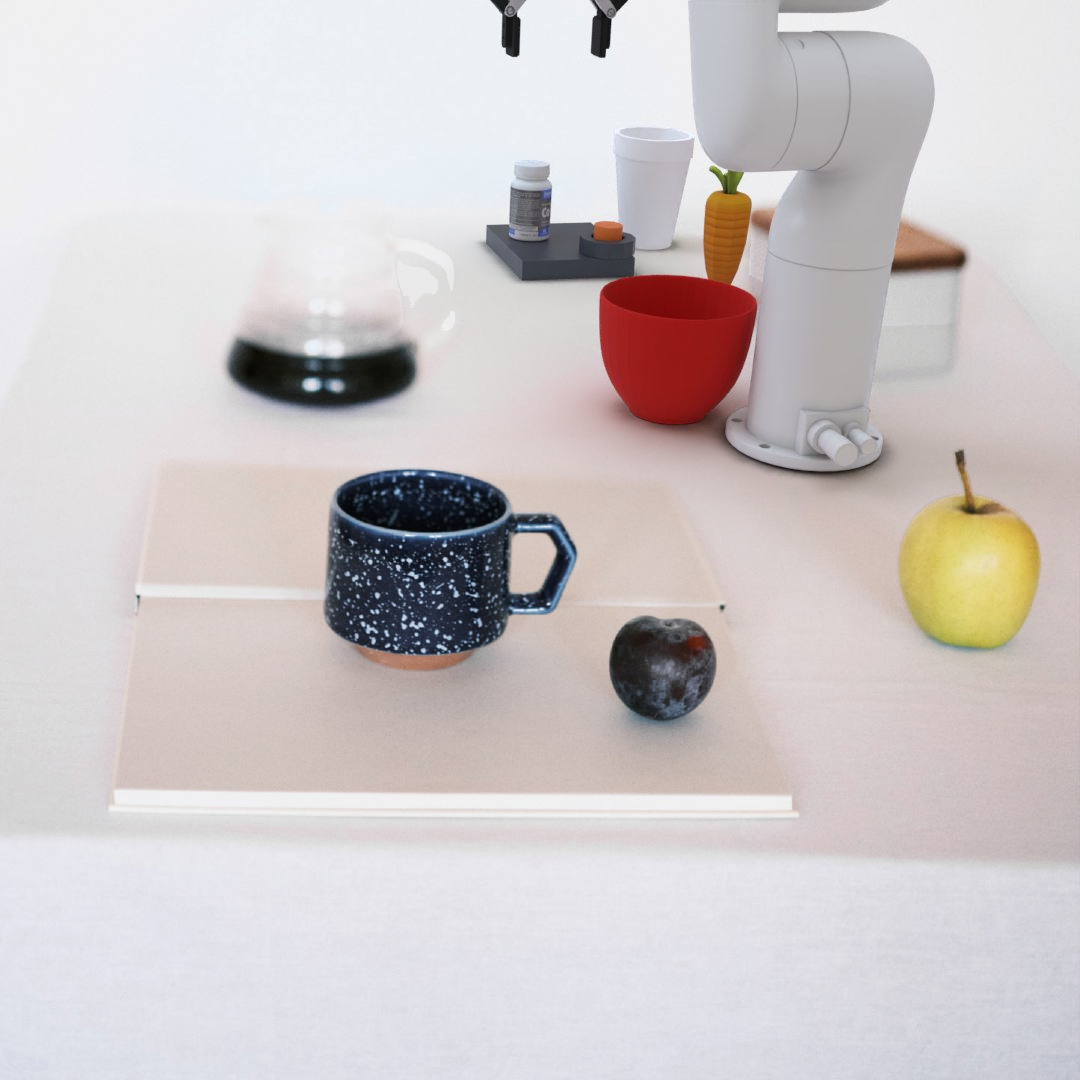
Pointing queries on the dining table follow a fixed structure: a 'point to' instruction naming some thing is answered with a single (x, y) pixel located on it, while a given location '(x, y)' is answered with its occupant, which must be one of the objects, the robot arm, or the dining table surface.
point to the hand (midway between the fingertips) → (555, 55)
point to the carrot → (725, 227)
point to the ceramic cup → (674, 343)
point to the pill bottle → (530, 201)
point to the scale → (564, 253)
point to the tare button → (608, 231)
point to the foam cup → (651, 181)
